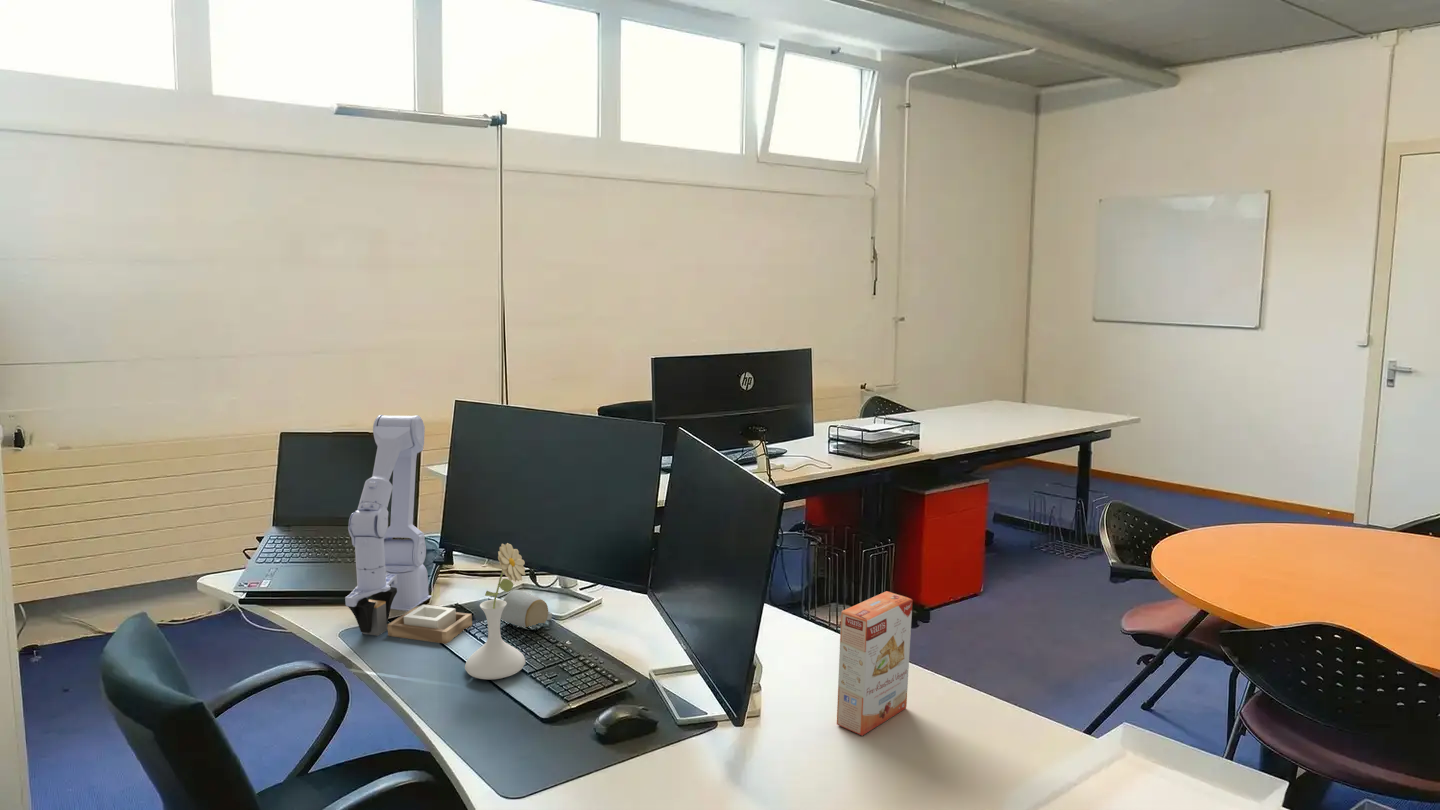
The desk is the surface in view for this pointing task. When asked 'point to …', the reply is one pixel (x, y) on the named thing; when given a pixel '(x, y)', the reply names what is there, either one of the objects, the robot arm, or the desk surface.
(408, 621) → the socket block
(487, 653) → the flower in vase
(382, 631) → the block
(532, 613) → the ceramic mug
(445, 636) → the walled box
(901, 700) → the cracker box
